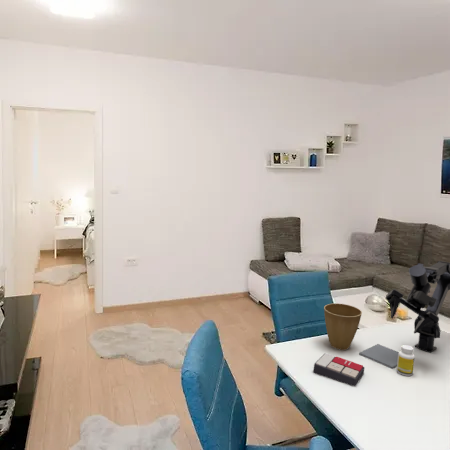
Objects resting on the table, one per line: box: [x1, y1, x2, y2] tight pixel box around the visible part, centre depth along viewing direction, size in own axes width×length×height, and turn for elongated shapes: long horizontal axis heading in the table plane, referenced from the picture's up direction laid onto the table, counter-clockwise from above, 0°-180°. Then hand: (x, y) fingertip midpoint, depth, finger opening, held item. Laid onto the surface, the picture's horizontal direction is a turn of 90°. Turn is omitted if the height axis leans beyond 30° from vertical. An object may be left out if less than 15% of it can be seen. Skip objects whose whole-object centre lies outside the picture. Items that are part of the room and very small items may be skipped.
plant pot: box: [323, 302, 363, 351], centre depth 161 cm, size 15×15×16 cm
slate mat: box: [359, 343, 399, 370], centre depth 154 cm, size 14×14×1 cm
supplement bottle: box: [396, 344, 416, 377], centre depth 142 cm, size 5×5×10 cm
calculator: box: [313, 352, 365, 387], centre depth 140 cm, size 11×4×15 cm
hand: (403, 325), depth 143 cm, fingers open, 9 cm apart
